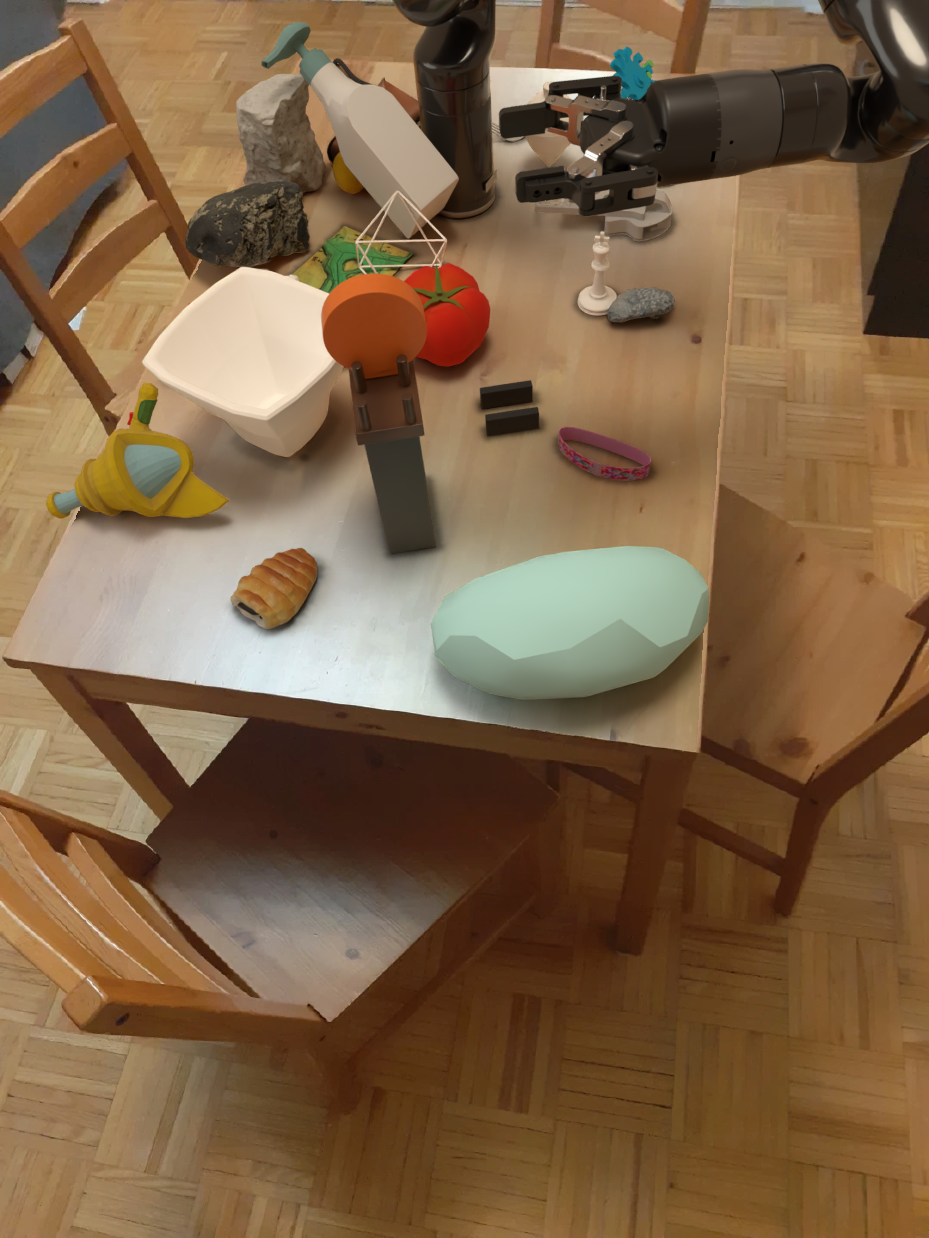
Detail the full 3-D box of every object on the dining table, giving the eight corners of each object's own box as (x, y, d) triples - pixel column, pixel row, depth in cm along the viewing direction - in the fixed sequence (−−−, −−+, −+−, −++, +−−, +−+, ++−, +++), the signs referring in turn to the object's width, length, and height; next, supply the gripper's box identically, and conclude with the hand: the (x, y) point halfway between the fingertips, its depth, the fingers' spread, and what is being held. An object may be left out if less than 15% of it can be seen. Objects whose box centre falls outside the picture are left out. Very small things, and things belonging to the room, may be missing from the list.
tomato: (388, 314, 117) (379, 257, 110) (486, 303, 117) (483, 245, 110) (393, 387, 110) (383, 331, 103) (497, 375, 110) (495, 318, 103)
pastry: (287, 546, 100) (279, 525, 96) (336, 575, 97) (329, 554, 94) (228, 609, 96) (218, 589, 93) (277, 640, 94) (268, 621, 90)
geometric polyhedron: (419, 242, 124) (418, 180, 116) (465, 290, 119) (468, 230, 111) (338, 276, 120) (332, 215, 112) (383, 327, 116) (379, 267, 108)
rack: (412, 353, 88) (406, 316, 84) (424, 436, 82) (419, 399, 79) (349, 362, 88) (340, 325, 84) (357, 445, 82) (349, 410, 79)
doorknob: (391, 201, 127) (400, 177, 132) (369, 143, 122) (379, 119, 127) (342, 216, 129) (352, 191, 135) (318, 159, 124) (329, 136, 129)
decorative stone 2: (675, 766, 88) (766, 633, 78) (423, 725, 82) (487, 573, 72) (640, 665, 99) (716, 536, 89) (416, 621, 93) (471, 477, 83)
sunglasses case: (380, 173, 131) (352, 130, 127) (347, 188, 136) (318, 147, 132) (432, 103, 139) (407, 60, 135) (398, 120, 144) (373, 79, 140)
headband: (548, 459, 103) (548, 445, 102) (562, 435, 105) (563, 421, 103) (639, 491, 100) (642, 477, 98) (653, 466, 102) (655, 452, 100)
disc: (428, 351, 86) (418, 266, 78) (432, 369, 84) (421, 284, 76) (332, 365, 85) (311, 281, 77) (334, 384, 84) (312, 300, 76)
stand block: (426, 481, 103) (407, 359, 88) (436, 547, 98) (418, 430, 83) (381, 488, 103) (355, 367, 87) (389, 554, 98) (362, 438, 83)
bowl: (302, 518, 101) (271, 430, 89) (169, 452, 107) (124, 362, 95) (397, 406, 109) (381, 312, 97) (269, 351, 115) (238, 255, 103)
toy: (-10, 440, 96) (53, 573, 100) (149, 371, 91) (211, 513, 94) (46, 431, 106) (103, 553, 109) (194, 368, 101) (249, 498, 104)
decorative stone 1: (284, 155, 136) (260, 52, 123) (336, 172, 133) (317, 69, 121) (242, 195, 132) (213, 94, 119) (295, 214, 129) (271, 111, 116)
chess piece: (614, 317, 114) (621, 248, 106) (574, 314, 115) (578, 245, 107) (619, 290, 117) (626, 220, 108) (580, 287, 118) (584, 217, 109)
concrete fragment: (239, 193, 130) (192, 285, 128) (206, 139, 120) (155, 238, 118) (329, 219, 126) (283, 314, 124) (303, 166, 116) (252, 268, 114)
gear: (647, 123, 132) (607, 58, 128) (616, 146, 136) (577, 84, 133) (675, 93, 138) (638, 31, 134) (645, 116, 142) (608, 56, 139)
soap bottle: (398, 248, 125) (254, 77, 119) (443, 209, 126) (302, 37, 120) (411, 221, 114) (254, 31, 109) (459, 178, 115) (306, -13, 109)
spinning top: (586, 163, 131) (590, 77, 120) (559, 193, 128) (561, 107, 117) (539, 148, 133) (539, 63, 123) (511, 178, 130) (509, 92, 120)
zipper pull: (538, 200, 127) (538, 171, 123) (671, 204, 125) (676, 175, 121) (532, 237, 123) (532, 209, 120) (670, 242, 121) (674, 213, 117)
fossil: (603, 312, 116) (613, 339, 113) (601, 290, 113) (611, 318, 110) (669, 295, 115) (680, 322, 113) (669, 272, 112) (680, 300, 110)
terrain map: (344, 224, 126) (344, 227, 127) (288, 276, 122) (289, 279, 122) (413, 252, 122) (413, 255, 123) (358, 307, 118) (358, 310, 118)
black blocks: (531, 395, 109) (531, 379, 106) (539, 428, 106) (539, 413, 104) (480, 403, 108) (479, 387, 106) (487, 436, 106) (486, 420, 104)
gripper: (693, 30, 74) (492, 58, 74) (745, 134, 67) (522, 165, 66) (680, 122, 80) (495, 147, 80) (726, 225, 73) (522, 254, 73)
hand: (507, 155), depth 73 cm, fingers open, 8 cm apart
